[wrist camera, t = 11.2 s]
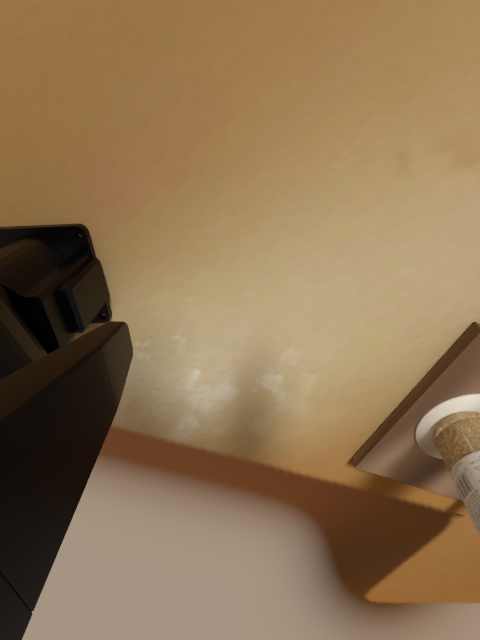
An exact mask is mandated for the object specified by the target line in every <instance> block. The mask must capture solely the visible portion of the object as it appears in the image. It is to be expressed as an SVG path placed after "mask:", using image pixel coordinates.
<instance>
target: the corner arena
mask: <svg viewBox="0 0 480 640" xmlns="http://www.w3.org/2000/svg"><path fill="white" fill-rule="evenodd" d="M461 412H480V324H479V323H476V322H474V323H473V324H472V325H471V326H470V327H469V328H468V329H467V330H466V331H465V333H464V334H463V335H462V336H461V337H460V338H459V339H458V340H457V341H456V343H455V344H454V345H453V346H452V347H451V348H450V349H449V350H448V352H447V353H446V354H445V355H444V356H443V357H442V358H441V359H440V360H439V362H438V363H437V364H436V365H435V366H434V367H433V368H432V369H431V370H430V372H429V373H428V374H427V375H426V376H425V377H424V378H423V379H422V380H421V382H420V383H419V384H418V385H417V386H416V387H415V388H414V389H413V390H412V392H411V393H410V394H409V395H408V396H407V397H406V398H405V399H404V401H403V402H402V403H401V404H400V405H399V406H398V407H397V408H396V409H395V411H394V412H393V413H392V414H391V415H390V416H389V417H388V418H387V419H386V421H385V422H384V423H383V424H382V425H381V426H380V427H379V428H378V429H377V431H376V432H375V433H374V434H373V435H372V436H371V437H370V438H369V440H368V441H367V442H366V443H365V444H364V445H363V446H362V447H361V448H360V450H359V451H358V452H357V453H356V454H355V455H354V456H353V457H352V459H353V463H354V466H355V468H357V469H360V470H363V471H367V472H370V473H373V474H376V475H380V476H383V477H386V478H390V479H393V480H396V481H399V482H403V483H406V484H409V485H412V486H416V487H419V488H422V489H425V490H429V491H432V492H435V493H438V494H442V495H445V496H448V497H451V498H455V499H458V500H461V501H462V499H461V497H460V495H459V493H458V491H457V489H456V487H455V485H454V483H453V481H452V478H451V475H450V472H449V470H448V468H447V466H446V465H445V463H444V461H443V459H442V457H441V455H440V453H439V451H438V450H437V449H436V448H435V446H434V445H433V442H432V434H433V430H434V428H435V427H436V425H437V424H439V423H440V422H441V421H442V420H444V419H445V418H447V417H449V416H451V415H453V414H457V413H461Z"/></svg>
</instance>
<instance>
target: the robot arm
mask: <svg viewBox="0 0 480 640" xmlns="http://www.w3.org/2000/svg"><path fill="white" fill-rule="evenodd" d="M76 230H79V231H80V232H81V233H82V236H79V235H78V234H77V233H76ZM109 297H110V295H109V291H108V288H107V284H106V281H105V277H104V273H103V270H102V266H101V263H100V261H99V260H98V259H97V258H96V255H95V252H94V248H93V245H92V241H91V237H90V234H89V231H88V229H87V228H86V227H85V226H84V225H82V224H61V225H38V226H16V227H0V640H22V638H23V635H24V633H25V631H26V628H27V626H28V623H29V621H30V619H31V616H32V611H33V610H34V608H35V606H36V603H37V601H38V599H39V596H40V593H41V592H42V589H43V587H44V584H45V582H46V580H47V577H48V575H49V572H50V570H51V568H52V565H53V563H54V560H55V558H56V556H57V553H58V551H59V548H60V546H61V544H62V541H63V539H64V536H65V534H66V532H67V529H68V527H69V524H70V522H71V520H72V517H73V515H74V512H75V510H76V508H77V505H78V503H79V501H80V498H81V496H82V493H83V491H84V489H85V486H86V484H87V481H88V479H89V477H90V474H91V471H92V469H93V467H94V464H95V462H96V460H97V457H98V455H99V453H100V450H101V448H102V445H103V443H104V440H105V438H106V436H107V433H108V431H109V429H110V426H111V424H112V421H113V419H114V417H115V414H116V412H117V409H118V406H119V403H120V400H121V396H122V393H123V389H124V385H125V382H126V378H127V375H128V371H129V368H130V364H131V361H132V357H133V347H132V342H131V338H130V333H129V328H128V325H127V324H126V323H125V322H115V321H111V322H108V321H109V320H110V318H111V316H112V312H111V308H110V305H109V301H108V298H109ZM101 313H104V314H105V315H106V316H103V315H101ZM105 322H108V323H106V324H104V325H102V326H100V327H98V328H96V329H94V330H93V331H91V332H89V333H87V334H85V335H83V336H81V337H79V338H78V339H76V340H74V341H72V339H73V338H74V337H75V335H76V334H77V333H82V332H84V330H85V329H86V328H87V327H88V325H89V324H90V323H105ZM71 341H72V342H71Z"/></svg>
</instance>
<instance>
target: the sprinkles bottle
mask: <svg viewBox="0 0 480 640" xmlns="http://www.w3.org/2000/svg"><path fill="white" fill-rule="evenodd" d="M432 442H433V445H434V446H435V448H436V449H437V450H438V451H439V453H440V455H441V457H442V459H443V461H444V463H445V465H446V466H447V468H448V470H449V472H450V475H451V478H452V481H453V483H454V485H455V487H456V489H457V491H458V493H459V495H460V497H461V499H462V501H463V503H464V505H465V507H466V509H467V511H468V513H469V515H470V517H471V519H472V521H473V523H474V525H475V527H476V529H477V531H478V533H479V535H480V412H461V413H457V414H453V415H451V416H449V417H447V418H445V419H444V420H442V421H441V422H440V423H439V424H437V425H436V427H435V428H434V430H433V434H432Z"/></svg>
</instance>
